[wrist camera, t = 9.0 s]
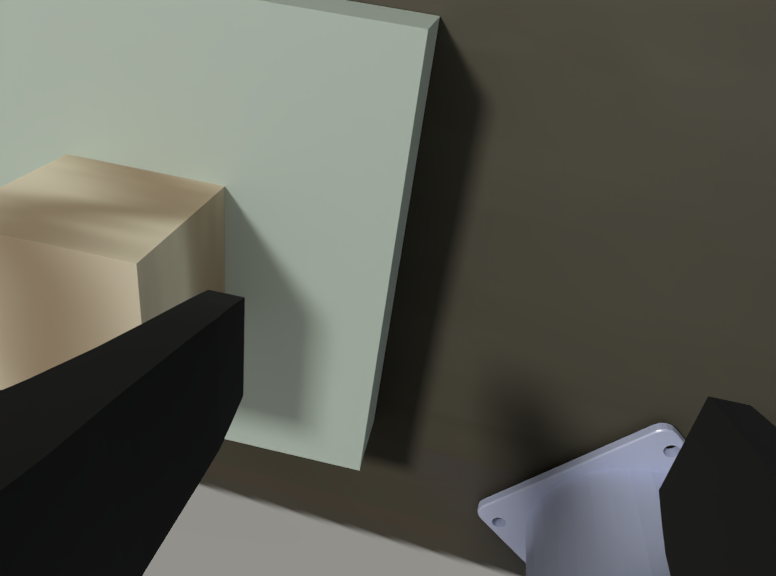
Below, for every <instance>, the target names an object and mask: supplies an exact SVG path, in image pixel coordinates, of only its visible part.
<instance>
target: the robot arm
mask: <svg viewBox="0 0 776 576" xmlns="http://www.w3.org/2000/svg"><path fill="white" fill-rule="evenodd" d="M244 318H245V297H240V296H236V295H231V294H226V293H222V292H217V291H212V290H207V291H204V292H202V293H200V294H198V295H196V296H194V297H192V298H190V299H188V300H186V301H184V302H182V303H180V304H178V305H176V306H175V307H173V308H171V309H169V310H167V311H165V312H163V313H161V314H159V315H158V316H156V317H154V318H152V319H150V320H148V321H146V322H144V323H142V324H141V325H139V326H137V327H135V328H133V329H131V330H129V331H127V332H125V333H123V334H121V335H119V336H117V337H115V338H113V339H111V340H109V341H108V342H106V343H104V344H102V345H100V346H98V347H96V348H94V349H92V350H89V351H87V352H85V353H83V354H81V355H79V356H76V357H74V358H72V359H70V360H68V361H66V362H64V363H61V364H59V365H57V366H55V367H53V368H51V369H48V370H46V371H44V372H42V373H40V374H38V375H36V376H33V377H31V378H29V379H27V380H25V381H22V382H20V383H17V384H15V385H13V386H10V387H8V388H6V389H3V390H1V391H0V576H142V575H143V573H144V572H145V570H146V568H147V567H148V565H149V563H150V562H151V560H152V559H153V557H154V555H155V554H156V552H157V550H158V549H159V547H160V546H161V544H162V542H163V541H164V539H165V537H166V536H167V534H168V532H169V531H170V529H171V528H172V526H173V524H174V523H175V521H176V520H177V518H178V516H179V515H180V513H181V512H182V510H183V508H184V507H185V505H186V503H187V502H188V500H189V498H190V497H191V495H192V494H193V492H194V491H195V489H196V487H197V486H198V484H199V482H200V481H201V479H202V477H203V476H204V474H205V472H206V471H207V469H208V467H209V466H210V464H211V463H212V461H213V459H214V457H215V456H216V454H217V452H218V451H219V449H220V447H221V445H222V443H223V440H224V438H225V436H226V434H227V432H228V430H229V428H230V425H231V423H232V421H233V418H234V416H235V414H236V412H237V409H238V407H239V405H240V402H241V400H242V398H243V386H244ZM670 445H674V446H675V447H674V448H670V449H667V448H665V447H667V446H670ZM478 515H479V517H480V518H481V519H482V520H483V521H484V522H485V523H486V524H487V525H488V526H489V527H490V528H491V529H492V530H493V531H494V532H495V533H496V534H497V535H498V536H499V537H500V538H501V539H502V540H503V541H504V542H505V543H506V544H507V545H508V546H509V547H510V548H511V549H512V550H513V551H514V552H515V553H516V554H517V555H518V556H519V557H520V558H521V559H522V560H523V561H524V562H525V563H526V576H776V427H775V426H774V425H772V424H771V423H770V422H769V421H768V420H767V419H766V418H765V417H764V416H762V415H761V414H760V413H759V412H758V411H757V410H755V409H754V408H753V407H752V406H750V405H746V404H741V403H736V402H732V401H727V400H722V399H718V398H713V397H708V398H707V400H706V402H705V404H704V406H703V407H702V409H701V411H700V413H699V415H698V417H697V419H696V421H695V423H694V425H693V426H692V428H691V430H690V432H689V434H688V436H687V438H686V440H685V439H684V438H683V437H682V435H681V434H680V433H679V432H678V430H677V429H676V428H675V427H674V426H672V425H670V424H667V423H658V424H654V425H652V426H649V427H647V428H645V429H642V430H640V431H638V432H636V433H633V434H631V435H629V436H626V437H624V438H622V439H620V440H617V441H615V442H613V443H610V444H608V445H606V446H604V447H601V448H599V449H597V450H594V451H592V452H590V453H588V454H585V455H583V456H581V457H579V458H576V459H574V460H572V461H569V462H567V463H565V464H563V465H560V466H558V467H556V468H553V469H551V470H549V471H547V472H544V473H542V474H540V475H537V476H535V477H533V478H531V479H528V480H526V481H524V482H521V483H519V484H517V485H515V486H512V487H510V488H508V489H506V490H503V491H501V492H499V493H496V494H494V495H492V496H490V497H487V498H485V499H483V500H481V501H480V502H479V504H478ZM498 518H502V519H498Z"/></svg>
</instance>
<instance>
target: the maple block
mask: <svg viewBox="0 0 776 576" xmlns="http://www.w3.org/2000/svg"><path fill="white" fill-rule="evenodd" d="M207 290H212V291H217V292H222V293H225V186H222V185H217V184H212V183H207V182H202V181H197V180H192V179H187V178H182V177H177V176H173V175H168V174H163V173H158V172H153V171H148V170H143V169H138V168H133V167H128V166H123V165H118V164H113V163H108V162H104V161H99V160H94V159H89V158H84V157H79V156H74V155H69V154H66V155H64V156H62V157H60V158H58V159H56V160H54V161H52V162H50V163H48V164H46V165H44V166H42V167H40V168H38V169H36V170H34V171H32V172H30V173H28V174H26V175H24V176H22V177H20V178H18V179H16V180H14V181H12V182H10V183H8V184H6V185H4V186H2V187H0V390H3V389H6V388H8V387H10V386H13V385H15V384H17V383H20V382H22V381H25V380H27V379H29V378H31V377H33V376H36V375H38V374H40V373H42V372H44V371H46V370H48V369H51V368H53V367H55V366H57V365H59V364H61V363H64V362H66V361H68V360H70V359H72V358H74V357H76V356H79V355H81V354H83V353H85V352H87V351H89V350H92V349H94V348H96V347H98V346H100V345H102V344H104V343H106V342H108V341H109V340H111V339H113V338H115V337H117V336H119V335H121V334H123V333H125V332H127V331H129V330H131V329H133V328H135V327H137V326H139V325H141V324H142V323H144V322H146V321H148V320H150V319H152V318H154V317H156V316H158V315H159V314H161V313H163V312H165V311H167V310H169V309H171V308H173V307H175V306H176V305H178V304H180V303H182V302H184V301H186V300H188V299H190V298H192V297H194V296H196V295H198V294H200V293H202V292H204V291H207Z"/></svg>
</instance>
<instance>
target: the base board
mask: <svg viewBox="0 0 776 576" xmlns="http://www.w3.org/2000/svg"><path fill="white" fill-rule="evenodd" d="M439 19H440V16H436V15H430V14H424V13H418V12H413V11H407V10H401V9H395V8H389V7H383V6H377V5H371V4H365V3H359V2H353V1H347V0H0V187H2V186H4V185H6V184H8V183H10V182H12V181H14V180H16V179H18V178H20V177H22V176H24V175H26V174H28V173H30V172H32V171H34V170H36V169H38V168H40V167H42V166H44V165H46V164H48V163H50V162H52V161H54V160H56V159H58V158H60V157H62V156H64V155H66V154H69V155H74V156H79V157H84V158H89V159H94V160H99V161H104V162H108V163H113V164H118V165H123V166H128V167H133V168H138V169H143V170H148V171H153V172H158V173H163V174H168V175H173V176H177V177H182V178H187V179H192V180H197V181H202V182H207V183H212V184H217V185H222V186H225V293H226V294H231V295H236V296H240V297H245V318H244V386H243V398H242V400H241V402H240V405H239V407H238V409H237V412H236V414H235V416H234V418H233V421H232V423H231V425H230V428H229V430H228V432H227V434H226V436H225V438H224V439H227V440H231V441H236V442H240V443H244V444H249V445H253V446H257V447H261V448H266V449H270V450H274V451H278V452H283V453H287V454H291V455H295V456H300V457H304V458H308V459H313V460H317V461H321V462H325V463H330V464H334V465H338V466H342V467H347V468H351V469H355V470H359V471H360V467H361V464H362V460H363V457H364V453H365V450H366V446H367V443H368V440H369V436H370V433H371V429H372V426H373V422H374V418H375V411H376V405H377V399H378V393H379V387H380V381H381V375H382V369H383V362H384V356H385V350H386V344H387V338H388V332H389V326H390V319H391V313H392V307H393V301H394V295H395V289H396V283H397V277H398V270H399V264H400V258H401V252H402V246H403V240H404V234H405V228H406V221H407V215H408V209H409V203H410V197H411V191H412V185H413V179H414V172H415V166H416V160H417V154H418V148H419V142H420V136H421V130H422V123H423V117H424V111H425V105H426V99H427V93H428V87H429V81H430V74H431V68H432V62H433V56H434V50H435V44H436V38H437V32H438V25H439Z"/></svg>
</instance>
